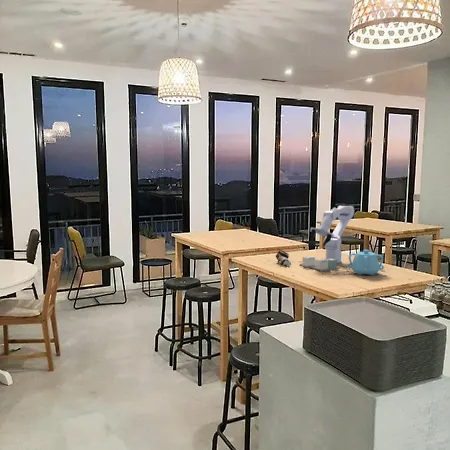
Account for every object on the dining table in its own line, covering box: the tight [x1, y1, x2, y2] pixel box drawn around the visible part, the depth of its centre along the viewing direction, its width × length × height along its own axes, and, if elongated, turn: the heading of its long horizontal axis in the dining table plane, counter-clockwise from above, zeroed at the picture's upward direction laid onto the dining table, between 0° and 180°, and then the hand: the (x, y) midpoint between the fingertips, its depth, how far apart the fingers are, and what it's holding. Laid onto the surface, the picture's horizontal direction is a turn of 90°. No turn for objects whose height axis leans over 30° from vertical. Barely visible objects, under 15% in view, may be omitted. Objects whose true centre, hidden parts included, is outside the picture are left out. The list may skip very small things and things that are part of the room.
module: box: [325, 258, 338, 271], centre depth 272 cm, size 4×5×6 cm
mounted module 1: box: [302, 255, 316, 266], centre depth 278 cm, size 6×4×5 cm
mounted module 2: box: [315, 258, 328, 270], centre depth 268 cm, size 6×4×5 cm
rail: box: [299, 262, 331, 273], centre depth 274 cm, size 5×22×1 cm, turn 30°
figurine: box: [275, 249, 292, 267], centre depth 286 cm, size 9×8×15 cm
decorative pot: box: [347, 249, 385, 276], centre depth 258 cm, size 16×16×14 cm
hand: (317, 243), depth 273 cm, fingers open, 7 cm apart
